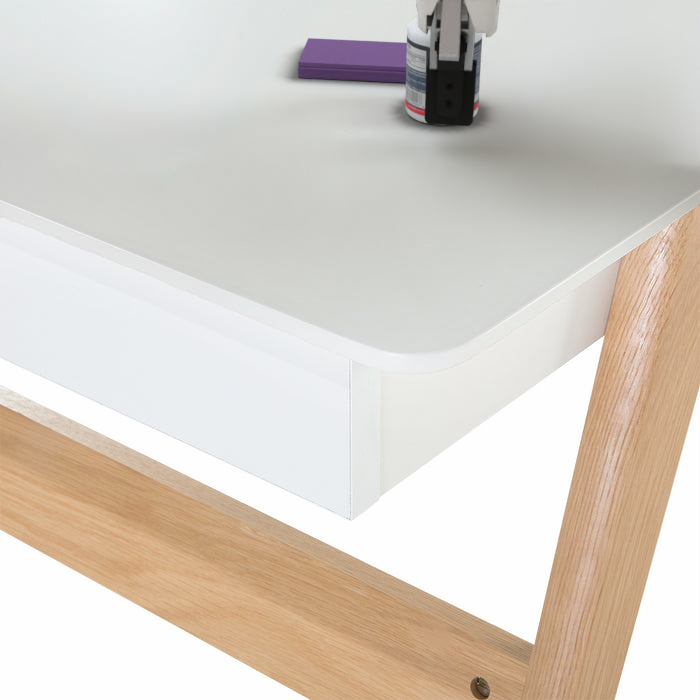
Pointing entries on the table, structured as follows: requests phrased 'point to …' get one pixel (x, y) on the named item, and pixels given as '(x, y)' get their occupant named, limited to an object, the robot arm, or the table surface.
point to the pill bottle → (418, 65)
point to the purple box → (353, 60)
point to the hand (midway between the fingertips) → (449, 119)
